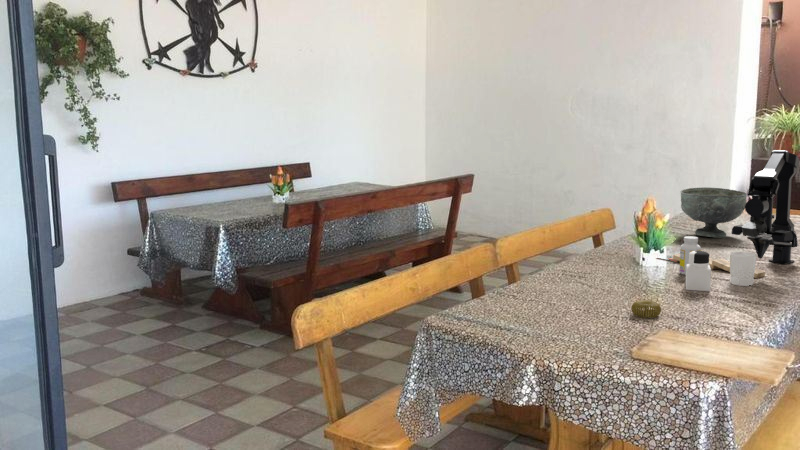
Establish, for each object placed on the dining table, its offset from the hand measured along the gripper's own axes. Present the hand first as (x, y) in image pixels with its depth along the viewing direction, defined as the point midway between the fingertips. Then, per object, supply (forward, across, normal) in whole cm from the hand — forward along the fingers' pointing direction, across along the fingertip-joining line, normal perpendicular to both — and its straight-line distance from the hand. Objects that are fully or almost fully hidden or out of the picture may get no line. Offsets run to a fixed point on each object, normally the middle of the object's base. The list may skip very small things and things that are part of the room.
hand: (760, 257), depth 250 cm
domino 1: (+6, -24, 0) cm, 24 cm away
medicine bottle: (+7, -3, -29) cm, 30 cm away
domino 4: (+6, -8, 0) cm, 9 cm away
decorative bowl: (+7, -55, +53) cm, 77 cm away
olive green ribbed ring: (+7, +7, -66) cm, 67 cm away
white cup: (+7, +2, -13) cm, 15 cm away
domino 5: (+6, +1, 0) cm, 6 cm away
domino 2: (+6, -31, 0) cm, 32 cm away
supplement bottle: (+7, -17, -14) cm, 23 cm away
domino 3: (+6, -16, 0) cm, 17 cm away
